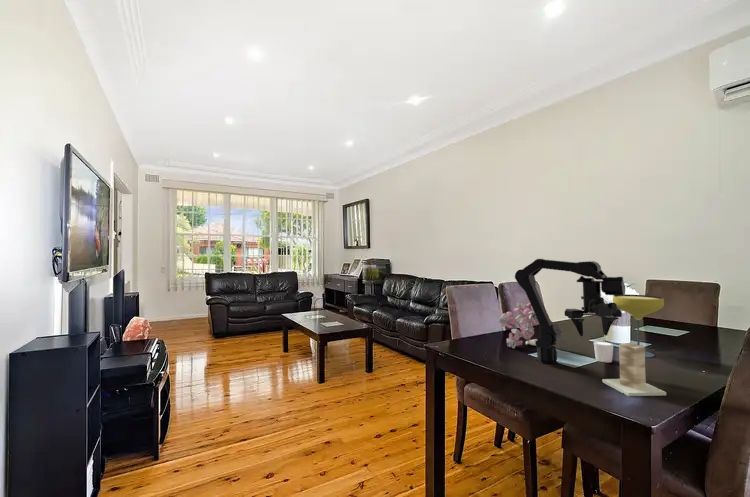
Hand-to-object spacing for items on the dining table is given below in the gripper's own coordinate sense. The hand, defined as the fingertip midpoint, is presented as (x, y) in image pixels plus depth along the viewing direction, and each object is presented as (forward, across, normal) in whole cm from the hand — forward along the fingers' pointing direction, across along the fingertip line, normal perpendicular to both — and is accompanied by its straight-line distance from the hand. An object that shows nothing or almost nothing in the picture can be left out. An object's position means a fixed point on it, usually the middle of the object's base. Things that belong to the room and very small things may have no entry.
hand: (593, 335), depth 133 cm
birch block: (+12, +1, -18) cm, 22 cm away
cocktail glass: (+14, +33, +21) cm, 41 cm away
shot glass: (+13, +12, +12) cm, 22 cm away
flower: (+13, -12, +35) cm, 39 cm away
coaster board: (+13, +1, -18) cm, 22 cm away
